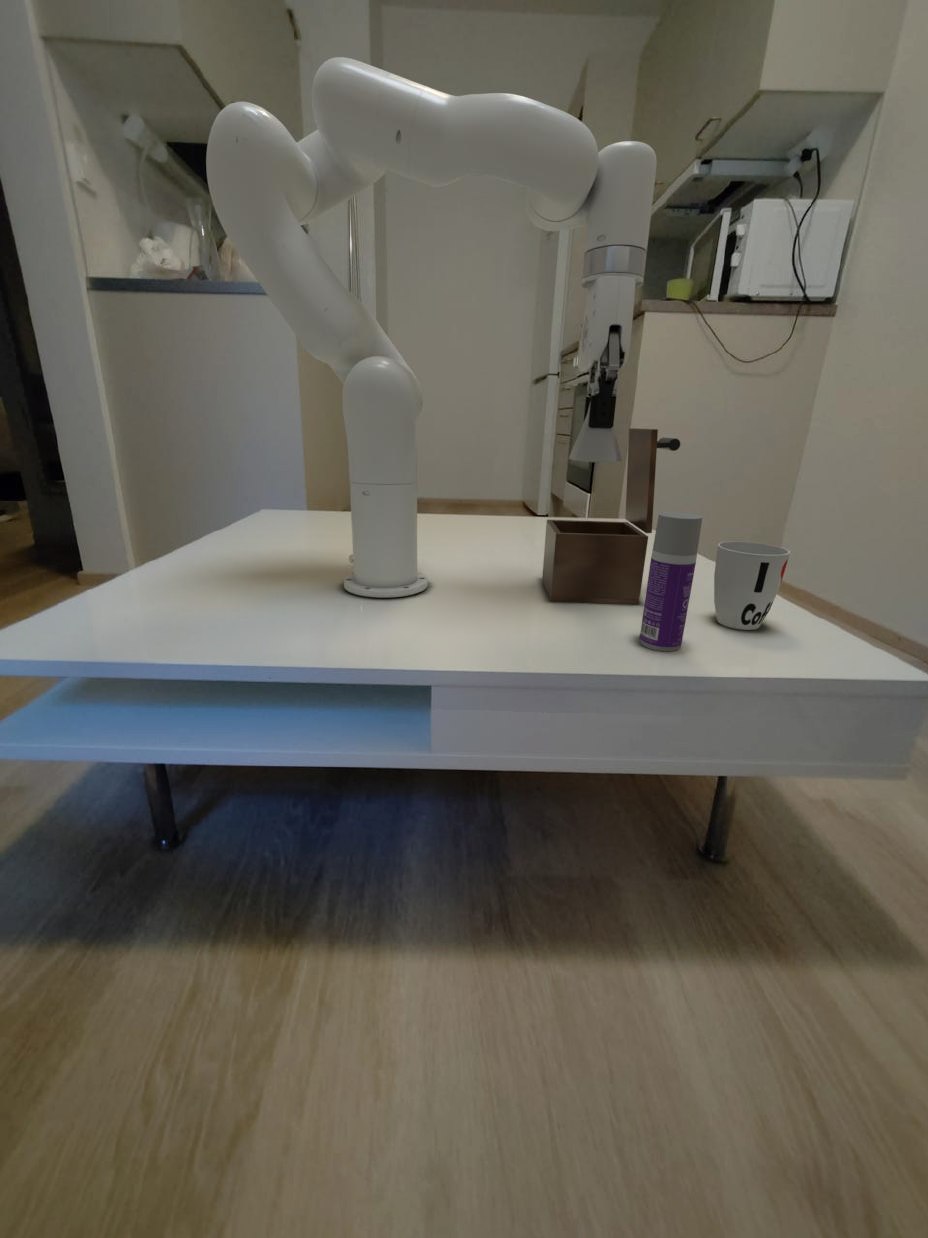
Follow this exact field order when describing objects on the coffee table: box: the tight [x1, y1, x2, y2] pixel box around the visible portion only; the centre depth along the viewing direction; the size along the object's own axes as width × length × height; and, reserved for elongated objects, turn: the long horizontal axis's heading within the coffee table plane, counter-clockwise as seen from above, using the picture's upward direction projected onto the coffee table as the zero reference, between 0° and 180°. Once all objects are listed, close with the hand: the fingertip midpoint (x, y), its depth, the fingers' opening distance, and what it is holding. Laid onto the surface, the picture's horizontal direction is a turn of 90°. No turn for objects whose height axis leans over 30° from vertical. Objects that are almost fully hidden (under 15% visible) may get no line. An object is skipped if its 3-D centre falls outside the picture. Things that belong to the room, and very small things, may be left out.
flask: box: [568, 383, 623, 463], centre depth 74 cm, size 7×7×10 cm
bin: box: [541, 519, 649, 605], centre depth 82 cm, size 13×12×10 cm
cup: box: [713, 541, 791, 631], centre depth 70 cm, size 8×8×10 cm
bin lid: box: [624, 427, 681, 534], centre depth 77 cm, size 13×12×5 cm
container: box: [638, 511, 703, 652], centre depth 61 cm, size 5×5×15 cm
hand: (597, 426), depth 74 cm, fingers closed on flask, 3 cm apart
